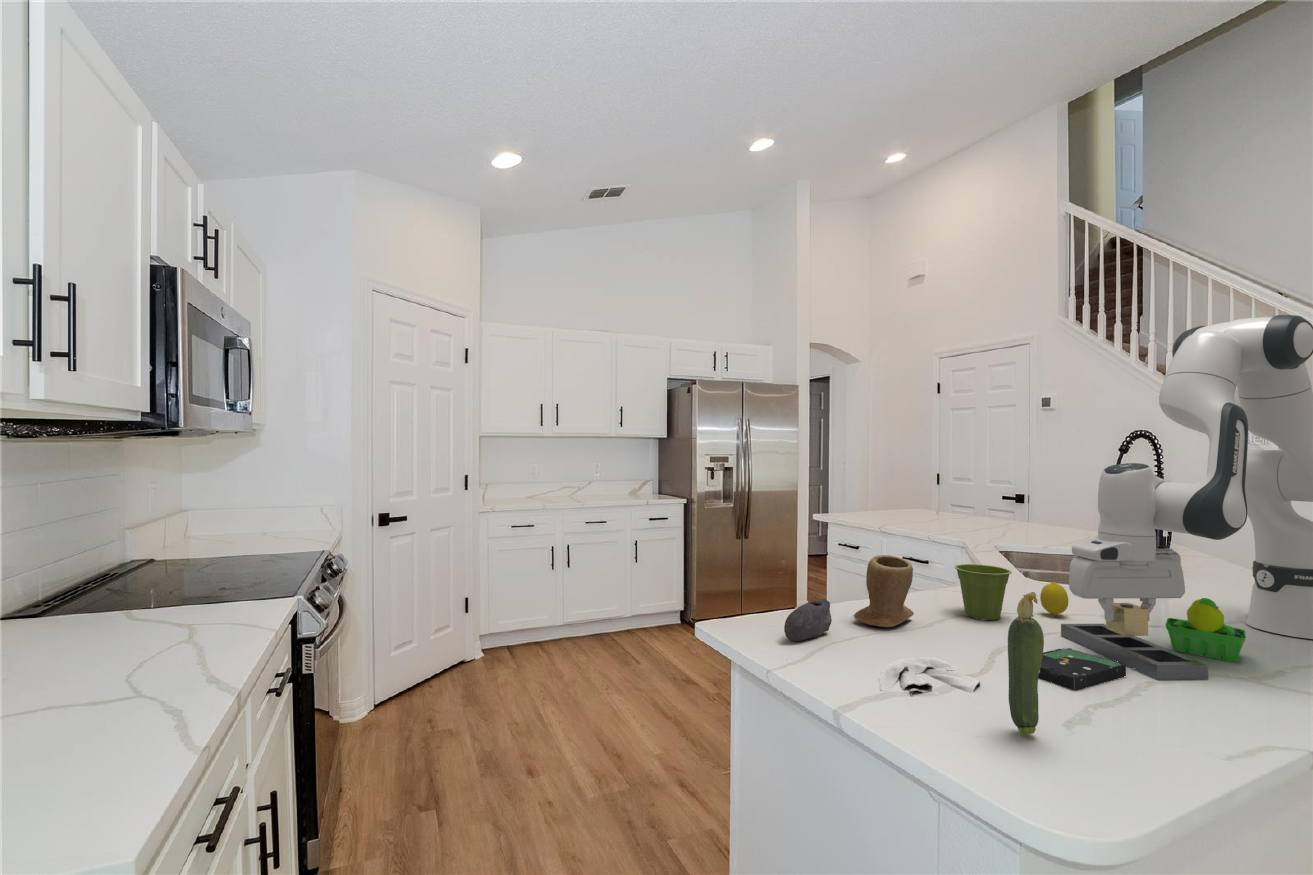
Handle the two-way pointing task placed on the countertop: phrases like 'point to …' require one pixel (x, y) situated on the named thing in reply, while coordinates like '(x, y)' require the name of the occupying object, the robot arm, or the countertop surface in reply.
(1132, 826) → the countertop surface
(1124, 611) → the nut
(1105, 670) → the disk drive
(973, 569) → the plant pot
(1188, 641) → the fruit basket
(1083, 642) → the rail
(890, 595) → the stone cup
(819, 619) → the perforated stone tool
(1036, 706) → the vegetable
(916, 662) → the cloth
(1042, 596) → the lemon
